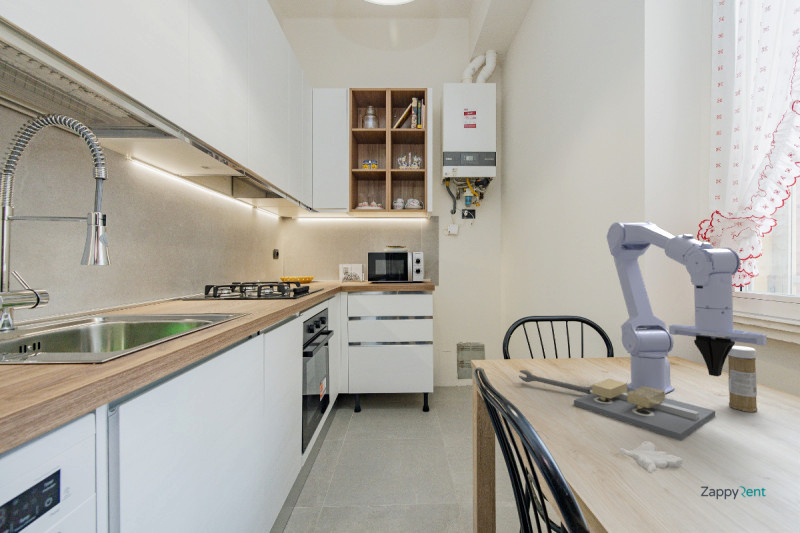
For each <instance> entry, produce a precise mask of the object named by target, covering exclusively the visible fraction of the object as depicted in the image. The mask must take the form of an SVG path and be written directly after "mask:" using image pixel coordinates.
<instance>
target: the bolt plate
mask: <svg viewBox="0 0 800 533" xmlns="http://www.w3.org/2000/svg"><path fill="white" fill-rule="evenodd" d="M627 385H628V383H627V382H623V381H620V380H614V379H611V378H608V379H604V380H602V381H599V382H596V383H594V384H591V386H592V390H591V394H585V395H584V396H581V397H578V398H575V399H573V406H576V407H578V408H581V409H584V410H586V411H587V410H588V411H590V412H593V413H596V414H600V415H603V416H606V417H608V418H612V419H615V420H617V421H621V422H623V423H627V424H629V425H632V426H636V427H639V428H642V429H645V430H648V431H651V432H654V433H656V434H660V435H663V436H666V437H668V438H672V439H675V440H678V441H682V440H684V439H685V438H686V437H688V436H690V435H691V434H693V433H694V432H695V431H696V430H698V429H700V427H702V426H704V425H705V424H707V423H708V422H709V421H711V420H712V419H714V418H715V417H716V410H714V409H710V408H706V407H702V406H698V405H694V404H690V403H687V402H682V401H680V400H679V401H678V400H674V399H670V398H667V397H665V400H664V401H662V402H660V403H659V404H657V405H655V406H653V407H651V408H647V407H643V410H642V411H641V410H637V405H636V404H632V403H629V402H628V396H627V393H628V392H630V391H633V390H632V389H628V388H627Z"/></svg>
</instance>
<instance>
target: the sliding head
mask: <svg viewBox="0 0 800 533" xmlns="http://www.w3.org/2000/svg"><path fill="white" fill-rule="evenodd" d="M627 396H628V402H629V403H632V404H636V405H637V410H641V411H642V410H643V407H647V408H651V407H653V406H655V405H657V404H659V403H660V402H662V401H664V400H665V398H666V394H665V391H663V390H659V389H654V388H650V387H646V386H642V387H640V388H637V389H635V390H633V391H630V392H628V393H627Z"/></svg>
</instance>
